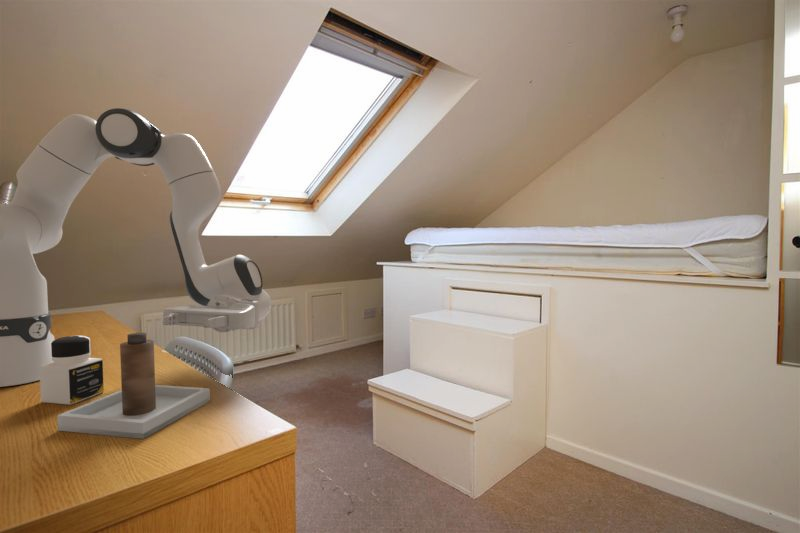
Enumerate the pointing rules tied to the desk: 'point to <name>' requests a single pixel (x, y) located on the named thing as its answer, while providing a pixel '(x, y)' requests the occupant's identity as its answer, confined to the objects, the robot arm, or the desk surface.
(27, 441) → the desk surface
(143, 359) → the walnut pepper mill
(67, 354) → the medicine bottle
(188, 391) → the pale dish
